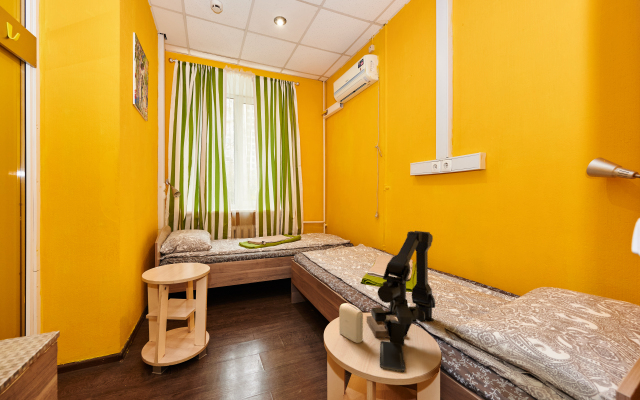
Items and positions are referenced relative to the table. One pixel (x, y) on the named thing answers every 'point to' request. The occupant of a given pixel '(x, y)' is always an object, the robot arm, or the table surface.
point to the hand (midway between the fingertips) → (397, 336)
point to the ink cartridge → (397, 332)
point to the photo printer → (351, 322)
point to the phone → (392, 356)
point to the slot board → (378, 327)
